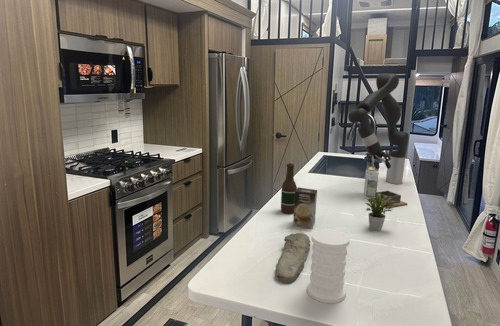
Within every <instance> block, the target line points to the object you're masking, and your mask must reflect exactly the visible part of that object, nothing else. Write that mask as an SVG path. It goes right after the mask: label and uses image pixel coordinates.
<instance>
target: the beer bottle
mask: <svg viewBox="0 0 500 326" xmlns="http://www.w3.org/2000/svg"><path fill="white" fill-rule="evenodd" d="M294 167H295V164H294V163H290V162H289V163H287V164H286V174H285V179H284V181H283V182H282V184H281V193H280V195H281V196H280V211H281V213H283V214H284V215H292V214H293V215H294V202H295V191H296V189H297V188H298V186H297V183H296V182H295V179H294V177H295V176H294V169H295V168H294Z"/></svg>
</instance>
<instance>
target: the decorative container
mask: <svg viewBox="0 0 500 326" xmlns="http://www.w3.org/2000/svg"><path fill="white" fill-rule="evenodd" d="M310 241H311V242H312V246H311V250H312V254H311V258H310V259H311V265H310V271H311V272H310V275H309V279H310V281H308V283H307V284H306V292H307V294H308V296H309V297H310V298H312V299H314V300H315V301H318V302H320V303H324V304H325V303H326V304H337V303H341V302H342V301H344V300H345V299H346V295H347V289H346V287H345V274H346V268H345V267H346V266H347V257H346V256H347V255H348V248H347V247H349V245H350V237H349V235H347V234H346V233H345V232H342V231H340V230H336V229H330V228H329V229H328V228H325V229H324V228H321V229H316V230H314V231H313V232H312V233H311V240H310Z"/></svg>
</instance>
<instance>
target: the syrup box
mask: <svg viewBox="0 0 500 326" xmlns="http://www.w3.org/2000/svg"><path fill="white" fill-rule="evenodd" d="M378 179H379V171H378V169H365V180H364V187H363V194H364V196H365V197H370V196H372V197H375V194H376V192H378V190H377V189H378V181H379V180H378Z"/></svg>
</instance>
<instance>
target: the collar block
mask: <svg viewBox="0 0 500 326" xmlns="http://www.w3.org/2000/svg"><path fill="white" fill-rule="evenodd" d="M378 192H379V194H381V199H382V198H384V197H385V196H386V195H387V196H386V197H385V198H384V200H383V202H385V201H386V200H387V199H389V198H391V199H390V200H389V201H388V203H389V204H391V205H392V206H387V207H385V208H391V209H394V208H400V207H405V206H408V203H407V202H404V201H402V200H401V197H402V195H401V194H399V193H396V192H393V191H389V190H384V191H383V190H381V191H377V192H376V194H375V196H374V197H372V198H373V199H374V200H375V201H374V202H375V203H376V200H377V195H378ZM392 197H393V198H392ZM369 198H370V200H371V197H369ZM371 201H372V200H371ZM380 201H381V200H380ZM391 201H394V202H391ZM383 202H382V203H383ZM381 205H382V204H381ZM381 205H380V206H381ZM384 205H387V202H386V204H384ZM395 205H398V206H395ZM385 208H384V209H385Z"/></svg>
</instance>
